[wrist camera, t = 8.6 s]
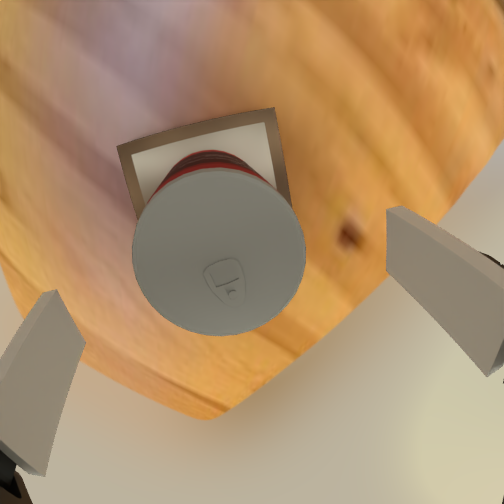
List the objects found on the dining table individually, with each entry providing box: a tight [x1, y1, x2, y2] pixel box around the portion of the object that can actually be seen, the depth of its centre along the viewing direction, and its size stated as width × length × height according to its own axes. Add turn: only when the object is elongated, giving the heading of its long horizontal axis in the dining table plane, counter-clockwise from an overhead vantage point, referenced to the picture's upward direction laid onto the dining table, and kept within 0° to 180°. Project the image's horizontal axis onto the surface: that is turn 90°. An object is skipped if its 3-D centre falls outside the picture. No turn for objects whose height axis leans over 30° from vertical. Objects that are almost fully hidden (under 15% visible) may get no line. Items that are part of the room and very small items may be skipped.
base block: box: [117, 107, 292, 220], centre depth 25 cm, size 12×12×5 cm
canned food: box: [132, 150, 306, 336], centre depth 18 cm, size 8×8×11 cm
